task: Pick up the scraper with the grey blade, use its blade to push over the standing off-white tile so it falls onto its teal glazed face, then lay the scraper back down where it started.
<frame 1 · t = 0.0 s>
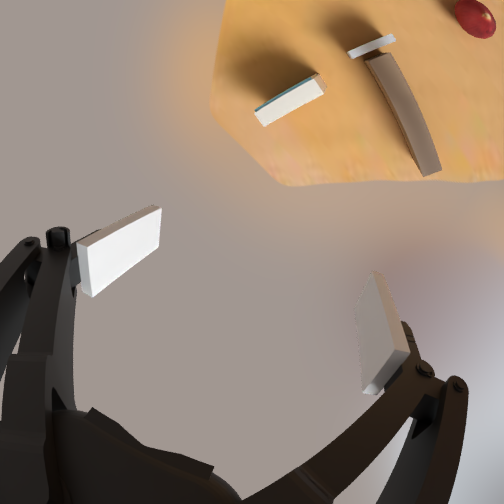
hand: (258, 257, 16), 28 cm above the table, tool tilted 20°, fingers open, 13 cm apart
onion: (464, 20, 15), on the table
tile: (299, 92, 32), on the table
scraper: (398, 101, 28), on the table
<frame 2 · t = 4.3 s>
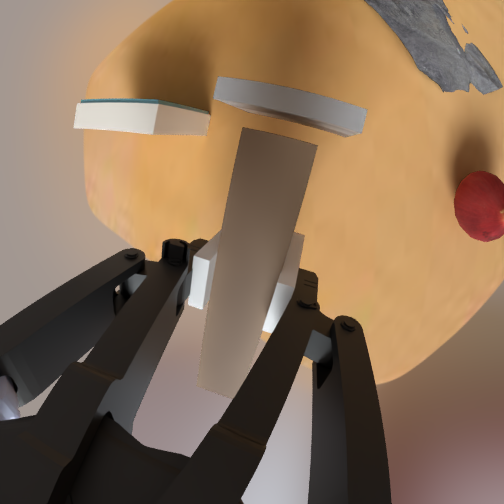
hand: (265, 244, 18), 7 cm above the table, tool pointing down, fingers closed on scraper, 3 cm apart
onion: (463, 197, 19), on the table
stone slab: (422, 22, 14), on the table
tile: (171, 120, 23), on the table
scraper: (266, 243, 18), point 7 cm above the table, touching gripper
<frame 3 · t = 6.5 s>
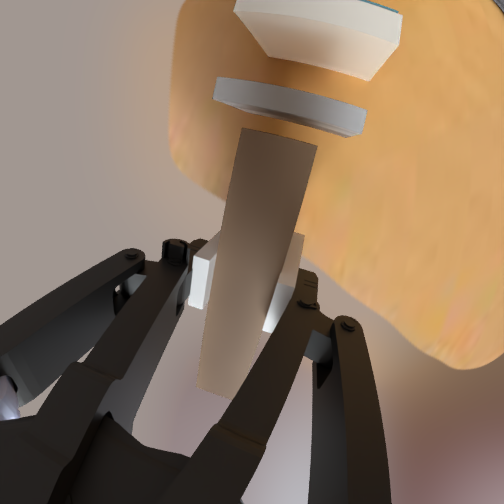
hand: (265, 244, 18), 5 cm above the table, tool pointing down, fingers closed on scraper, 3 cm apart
tile: (321, 56, 16), on the table
scraper: (266, 243, 18), point 5 cm above the table, touching gripper
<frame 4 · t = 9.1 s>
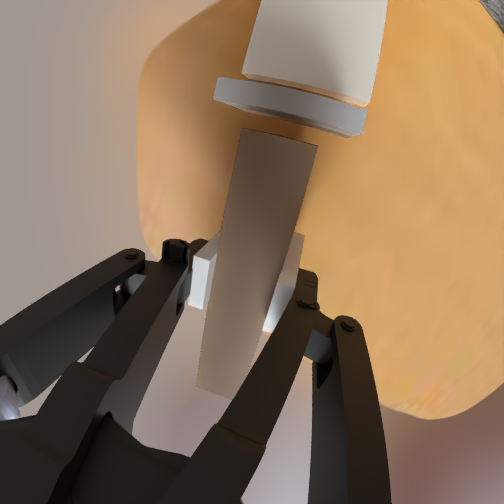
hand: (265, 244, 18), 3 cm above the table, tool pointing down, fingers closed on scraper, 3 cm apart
tile: (305, 87, 15), point 1 cm above the table, tilted 90°
scraper: (266, 243, 18), point 2 cm above the table, touching gripper
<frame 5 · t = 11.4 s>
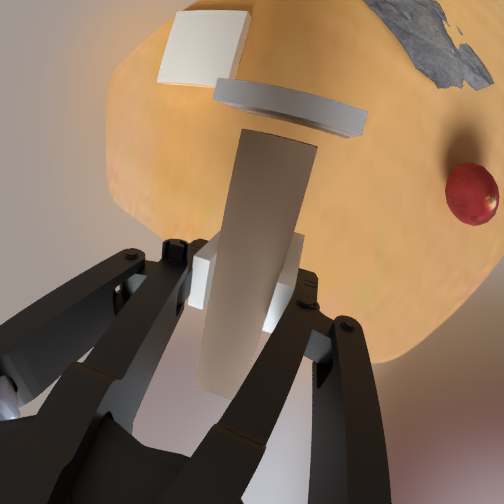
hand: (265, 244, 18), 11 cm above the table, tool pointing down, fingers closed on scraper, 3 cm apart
onion: (455, 186, 22), on the table
stone slab: (420, 25, 16), on the table
tile: (193, 84, 23), point 1 cm above the table, tilted 90°
scraper: (266, 244, 18), point 10 cm above the table, touching gripper
when the fingers open (0 cm above the table, at t = 13.7 s): scraper stays where it is, on the table.
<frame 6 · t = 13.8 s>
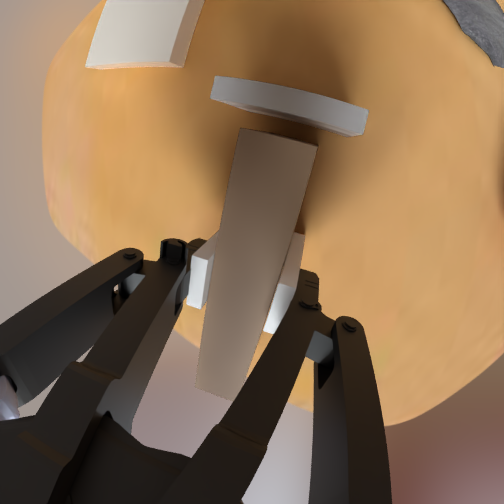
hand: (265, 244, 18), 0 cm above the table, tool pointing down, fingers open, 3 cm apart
tile: (129, 65, 14), point 1 cm above the table, tilted 90°
scraper: (265, 244, 18), on the table
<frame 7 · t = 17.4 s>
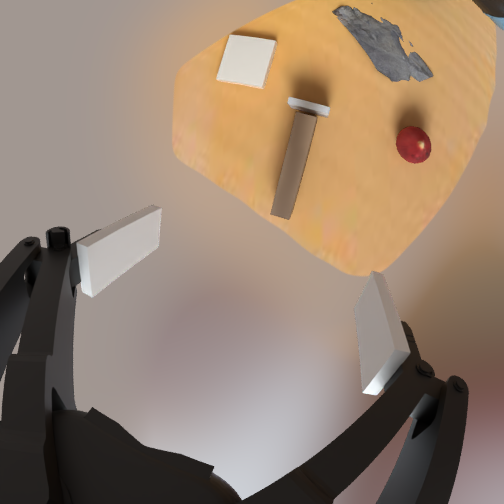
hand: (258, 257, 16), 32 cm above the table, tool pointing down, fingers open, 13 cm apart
onion: (406, 144, 37), on the table
stone slab: (383, 42, 31), on the table
tile: (240, 83, 39), point 1 cm above the table, tilted 90°
scraper: (297, 157, 43), on the table
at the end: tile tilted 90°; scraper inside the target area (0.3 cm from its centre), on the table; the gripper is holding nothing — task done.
